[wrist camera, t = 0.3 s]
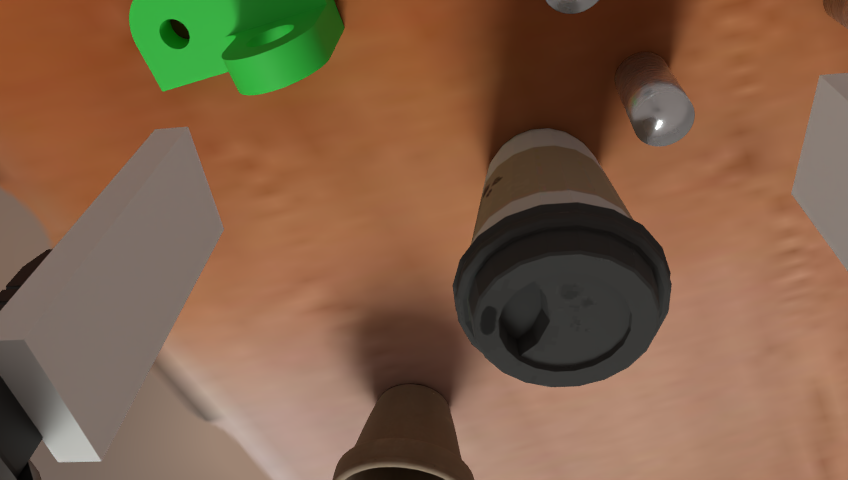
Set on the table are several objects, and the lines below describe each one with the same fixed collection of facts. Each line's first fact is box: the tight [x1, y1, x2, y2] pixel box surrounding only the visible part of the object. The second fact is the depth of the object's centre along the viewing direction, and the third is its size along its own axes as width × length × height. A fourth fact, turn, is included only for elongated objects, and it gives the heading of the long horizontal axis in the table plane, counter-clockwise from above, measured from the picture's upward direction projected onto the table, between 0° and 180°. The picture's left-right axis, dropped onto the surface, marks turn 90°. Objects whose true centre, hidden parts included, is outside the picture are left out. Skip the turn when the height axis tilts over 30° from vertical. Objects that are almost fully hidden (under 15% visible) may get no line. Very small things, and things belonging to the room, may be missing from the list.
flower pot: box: [333, 384, 474, 480], centre depth 56 cm, size 12×11×10 cm
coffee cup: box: [453, 128, 672, 387], centre depth 39 cm, size 11×11×15 cm
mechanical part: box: [129, 0, 344, 95], centre depth 37 cm, size 12×6×8 cm, turn 108°
